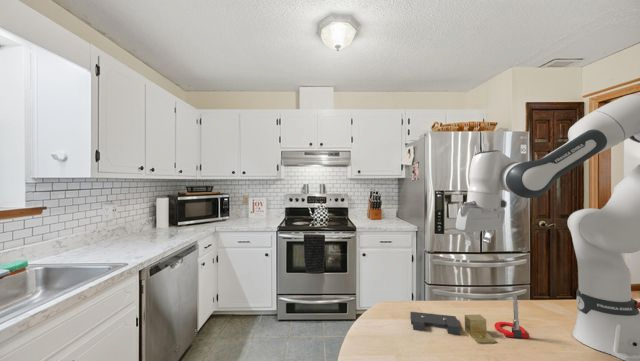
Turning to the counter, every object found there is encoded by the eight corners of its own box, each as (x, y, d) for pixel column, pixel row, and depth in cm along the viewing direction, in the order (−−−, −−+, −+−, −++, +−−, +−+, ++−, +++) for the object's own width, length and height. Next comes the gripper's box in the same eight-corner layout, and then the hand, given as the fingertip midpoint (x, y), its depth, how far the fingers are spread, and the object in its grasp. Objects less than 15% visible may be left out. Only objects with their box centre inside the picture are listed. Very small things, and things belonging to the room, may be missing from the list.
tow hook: (490, 324, 97) (503, 337, 88) (488, 285, 98) (501, 295, 89) (517, 326, 96) (533, 339, 87) (515, 286, 97) (531, 296, 88)
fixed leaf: (455, 319, 100) (455, 312, 100) (461, 335, 90) (461, 327, 90) (410, 314, 104) (410, 307, 104) (411, 329, 94) (411, 321, 94)
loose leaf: (480, 330, 93) (480, 314, 93) (494, 343, 86) (493, 326, 86) (464, 330, 93) (464, 314, 93) (477, 343, 86) (477, 326, 86)
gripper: (471, 203, 84) (467, 250, 84) (510, 202, 94) (505, 244, 95) (452, 200, 89) (448, 244, 90) (490, 199, 99) (486, 239, 100)
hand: (478, 244), depth 92 cm, fingers open, 8 cm apart
